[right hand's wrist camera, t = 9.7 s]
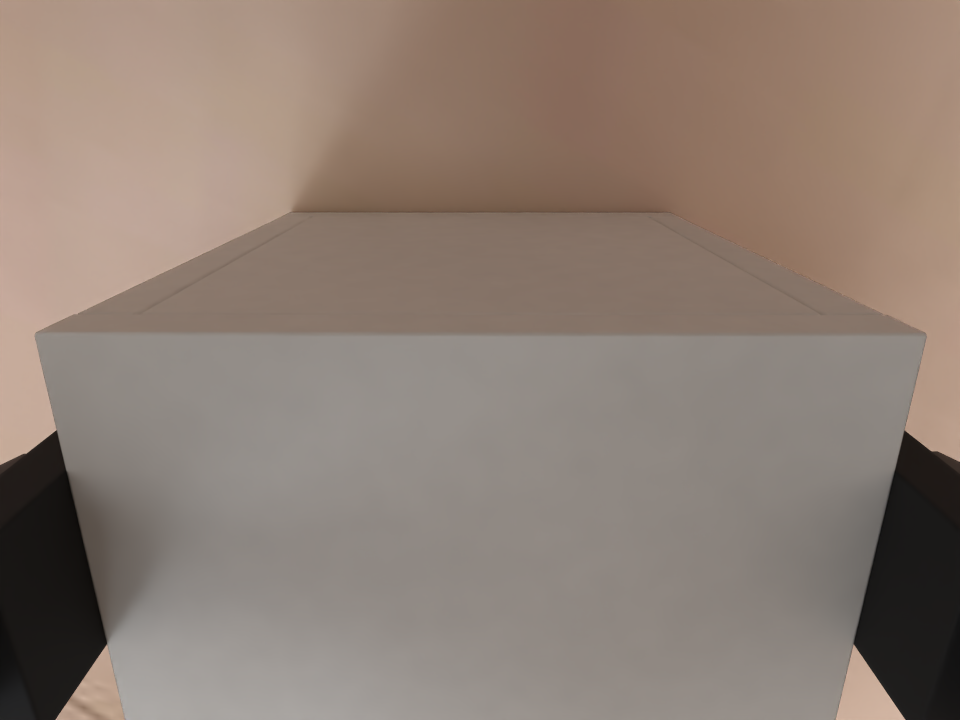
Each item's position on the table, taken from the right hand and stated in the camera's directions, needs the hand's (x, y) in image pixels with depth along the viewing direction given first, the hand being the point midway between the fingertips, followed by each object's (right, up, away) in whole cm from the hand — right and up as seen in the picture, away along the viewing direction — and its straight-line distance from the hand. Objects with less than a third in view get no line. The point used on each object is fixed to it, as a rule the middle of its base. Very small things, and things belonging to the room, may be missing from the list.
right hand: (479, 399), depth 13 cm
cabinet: (0, -5, +8) cm, 10 cm away
